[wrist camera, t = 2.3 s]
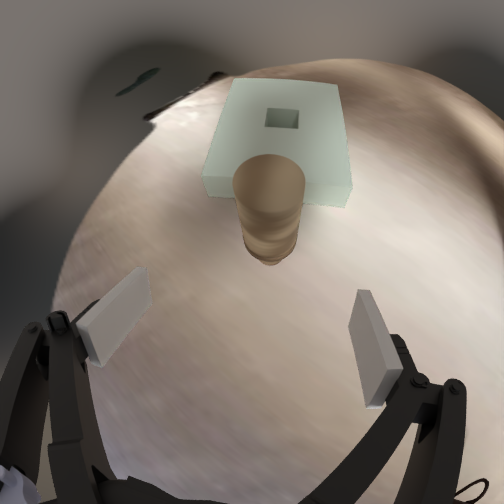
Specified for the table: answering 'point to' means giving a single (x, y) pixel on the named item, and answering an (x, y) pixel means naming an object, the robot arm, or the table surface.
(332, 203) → the sage board
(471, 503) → the coffee mug
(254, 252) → the beech peg
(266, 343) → the table surface
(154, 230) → the table surface
